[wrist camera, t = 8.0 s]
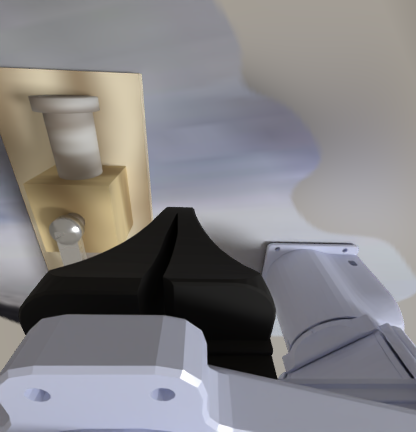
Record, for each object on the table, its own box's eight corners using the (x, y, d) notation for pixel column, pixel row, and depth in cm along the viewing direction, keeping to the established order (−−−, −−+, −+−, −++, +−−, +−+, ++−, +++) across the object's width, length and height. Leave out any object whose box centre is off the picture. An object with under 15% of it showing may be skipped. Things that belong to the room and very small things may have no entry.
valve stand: (141, 73, 18) (116, 71, 13) (157, 273, 27) (146, 319, 22) (-15, 67, 18) (-107, 61, 12) (54, 271, 27) (18, 318, 22)
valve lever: (54, 211, 17) (41, 222, 16) (84, 212, 17) (73, 223, 16) (86, 325, 23) (78, 341, 21) (108, 325, 23) (102, 341, 21)
